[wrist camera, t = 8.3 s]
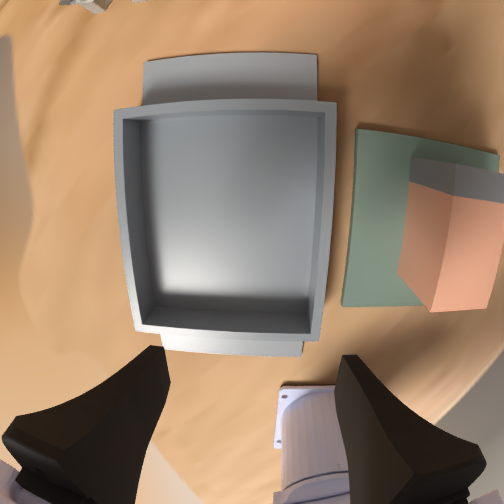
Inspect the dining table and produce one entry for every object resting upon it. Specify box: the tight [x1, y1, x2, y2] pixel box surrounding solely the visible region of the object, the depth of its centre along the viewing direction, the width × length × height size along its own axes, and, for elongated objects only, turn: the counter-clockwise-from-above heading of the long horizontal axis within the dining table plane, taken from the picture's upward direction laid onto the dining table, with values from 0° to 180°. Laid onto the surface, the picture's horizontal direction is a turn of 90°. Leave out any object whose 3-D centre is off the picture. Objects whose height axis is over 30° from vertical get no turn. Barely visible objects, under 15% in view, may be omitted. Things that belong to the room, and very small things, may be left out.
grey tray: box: [114, 52, 337, 357], centre depth 18 cm, size 21×12×3 cm, turn 0°
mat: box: [341, 129, 500, 307], centre depth 19 cm, size 12×12×1 cm
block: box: [397, 157, 504, 312], centre depth 16 cm, size 8×4×6 cm, turn 0°
